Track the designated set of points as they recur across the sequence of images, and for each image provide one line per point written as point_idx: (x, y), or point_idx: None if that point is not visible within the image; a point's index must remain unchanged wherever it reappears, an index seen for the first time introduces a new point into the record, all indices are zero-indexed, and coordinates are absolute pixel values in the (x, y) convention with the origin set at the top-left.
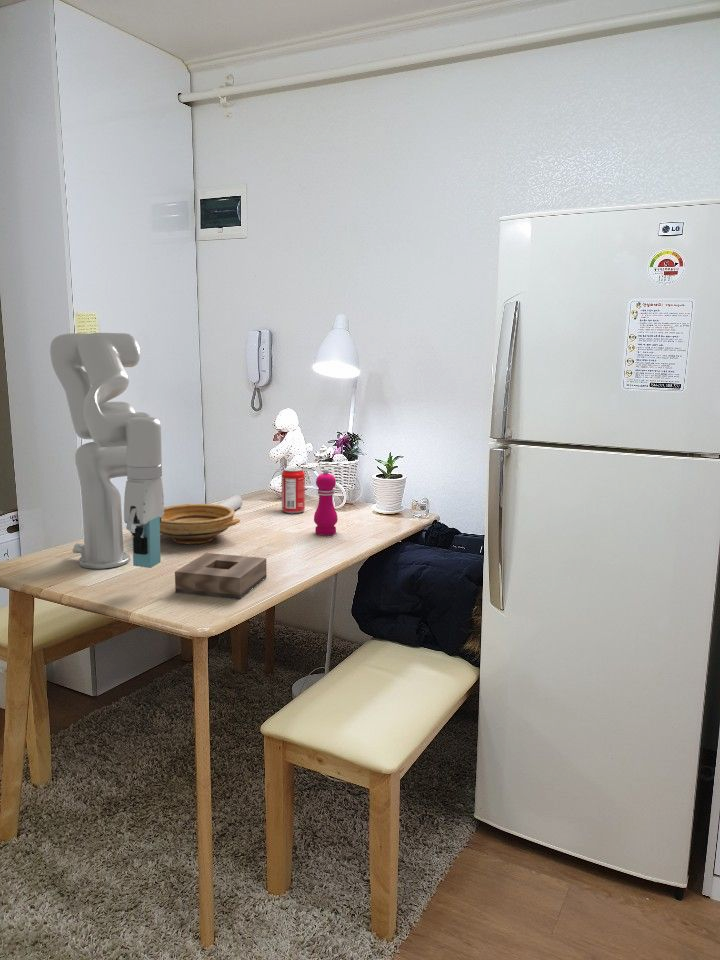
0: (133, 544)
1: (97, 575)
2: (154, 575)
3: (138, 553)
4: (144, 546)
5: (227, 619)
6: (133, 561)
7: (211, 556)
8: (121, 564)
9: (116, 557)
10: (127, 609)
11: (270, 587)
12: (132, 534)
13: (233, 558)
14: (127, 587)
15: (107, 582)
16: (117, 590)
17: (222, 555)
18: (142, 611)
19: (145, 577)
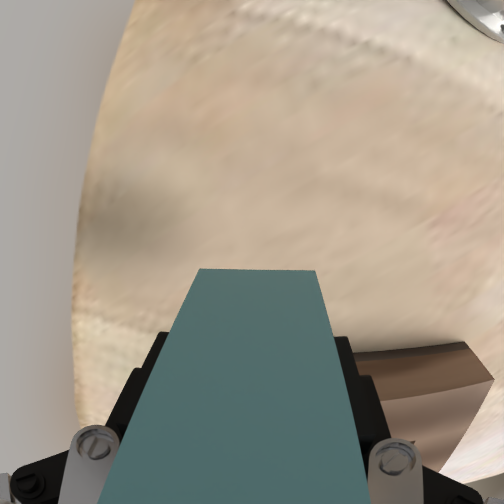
0: (140, 370)
1: None
2: (428, 195)
3: None
4: None
5: None
6: (193, 282)
7: (455, 413)
8: (481, 30)
9: (494, 7)
10: (81, 289)
11: None
12: (54, 457)
13: (428, 459)
14: (268, 164)
15: (301, 51)
16: (221, 145)
17: (460, 428)
18: (91, 334)
19: (401, 171)
